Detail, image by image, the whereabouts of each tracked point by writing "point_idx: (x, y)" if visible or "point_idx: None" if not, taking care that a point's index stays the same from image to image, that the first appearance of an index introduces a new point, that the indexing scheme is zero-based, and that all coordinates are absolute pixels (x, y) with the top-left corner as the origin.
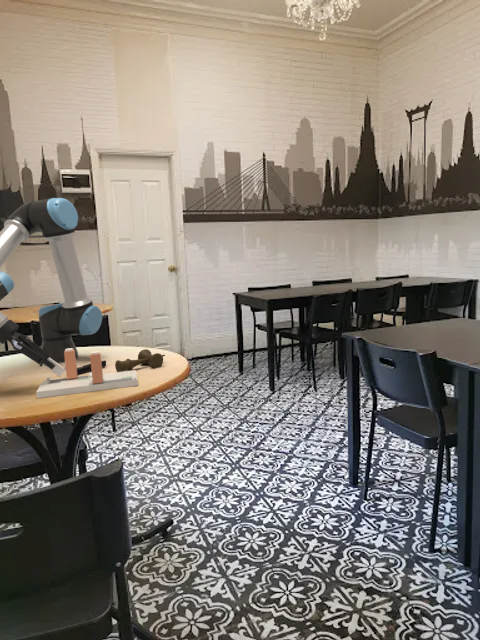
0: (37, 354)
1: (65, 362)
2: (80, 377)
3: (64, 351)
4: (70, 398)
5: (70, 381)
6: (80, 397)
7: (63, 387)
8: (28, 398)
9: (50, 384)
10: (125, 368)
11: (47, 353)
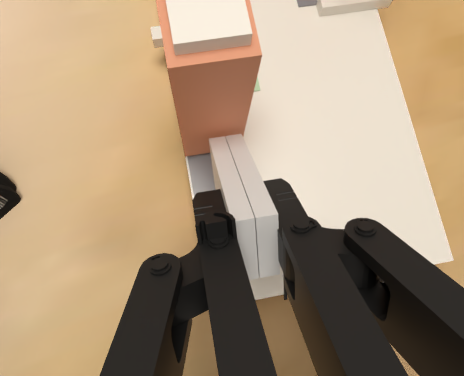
0: (440, 272)
1: (250, 100)
2: None
3: (222, 59)
4: (455, 93)
5: (273, 123)
6: (446, 52)
7: (390, 130)
8: None
9: None
10: None
11: (154, 260)
